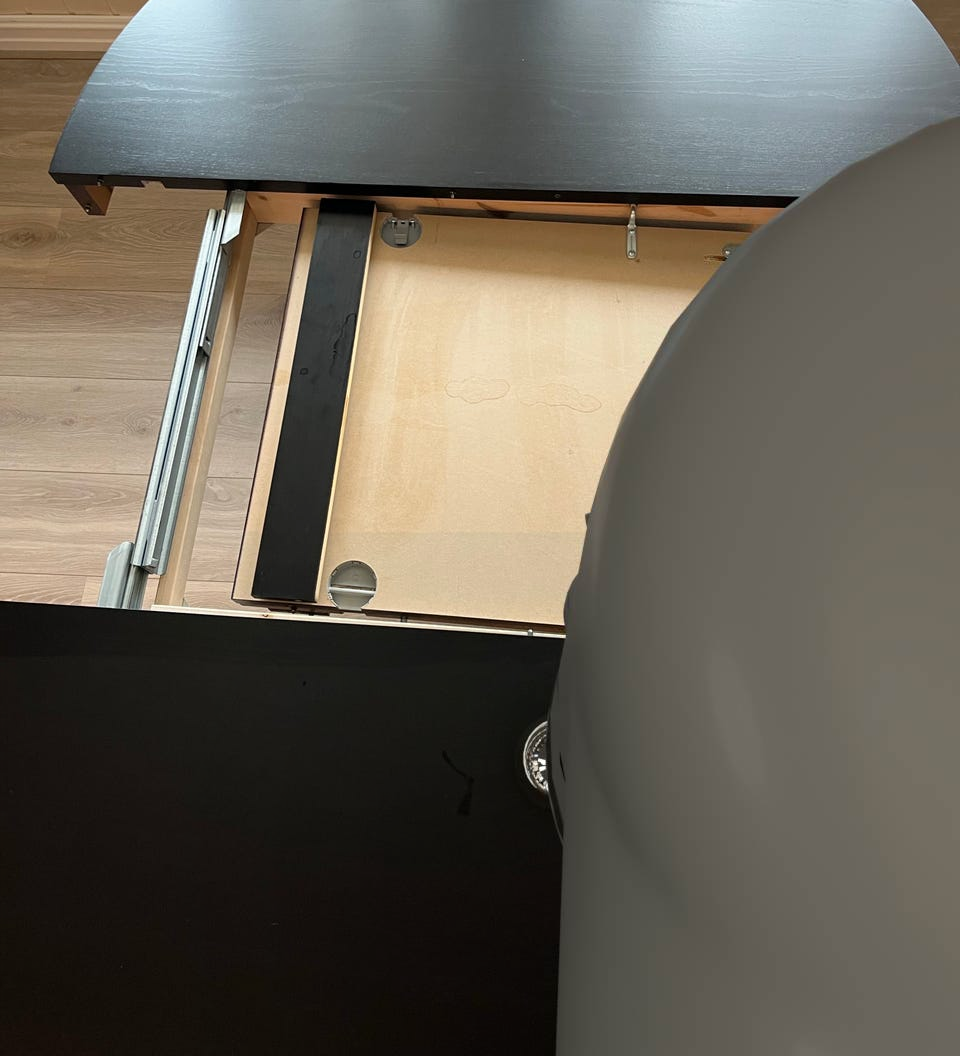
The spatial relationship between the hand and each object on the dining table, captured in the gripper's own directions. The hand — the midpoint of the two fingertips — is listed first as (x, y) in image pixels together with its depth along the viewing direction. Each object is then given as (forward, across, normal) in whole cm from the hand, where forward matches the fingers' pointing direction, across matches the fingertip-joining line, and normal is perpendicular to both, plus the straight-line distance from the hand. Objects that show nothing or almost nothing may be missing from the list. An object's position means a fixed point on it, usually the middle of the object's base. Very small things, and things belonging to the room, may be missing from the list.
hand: (654, 792), depth 33 cm
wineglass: (+42, +3, +1) cm, 42 cm away
